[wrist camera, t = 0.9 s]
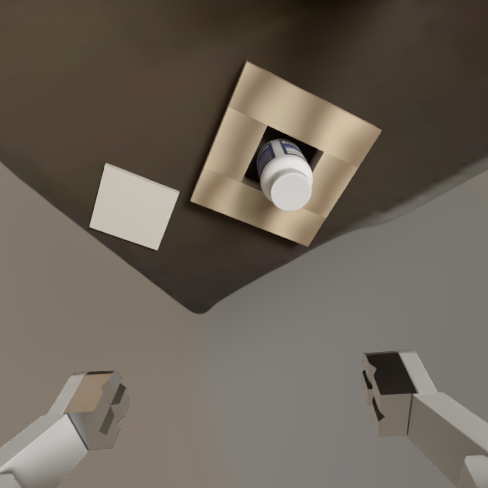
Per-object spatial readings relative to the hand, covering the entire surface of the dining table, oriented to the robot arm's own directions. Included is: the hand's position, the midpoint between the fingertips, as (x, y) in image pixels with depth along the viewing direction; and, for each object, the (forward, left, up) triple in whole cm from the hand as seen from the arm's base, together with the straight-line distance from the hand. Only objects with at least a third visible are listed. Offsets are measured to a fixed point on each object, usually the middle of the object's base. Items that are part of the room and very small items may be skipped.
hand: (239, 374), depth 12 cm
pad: (-8, -14, -33) cm, 36 cm away
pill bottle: (+6, -1, -33) cm, 33 cm away
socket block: (+6, -1, -33) cm, 33 cm away
